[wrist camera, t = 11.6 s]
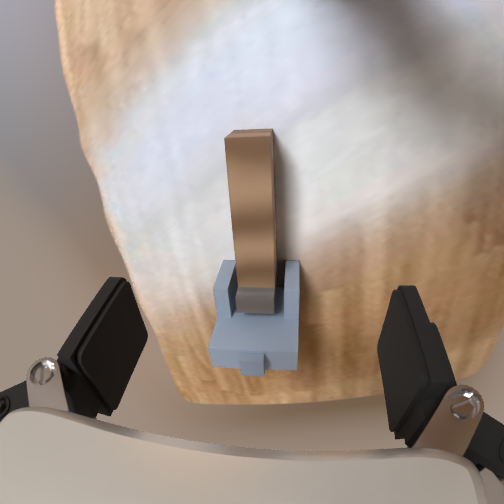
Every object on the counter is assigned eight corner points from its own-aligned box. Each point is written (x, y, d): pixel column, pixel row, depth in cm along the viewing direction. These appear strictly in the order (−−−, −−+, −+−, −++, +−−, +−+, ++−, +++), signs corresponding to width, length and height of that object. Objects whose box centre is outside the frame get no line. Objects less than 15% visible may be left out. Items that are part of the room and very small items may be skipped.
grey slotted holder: (223, 260, 40) (199, 327, 29) (299, 260, 39) (299, 331, 28) (229, 304, 43) (210, 374, 33) (298, 306, 42) (296, 379, 32)
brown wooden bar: (233, 130, 32) (219, 142, 26) (272, 128, 32) (267, 140, 25) (245, 276, 41) (236, 312, 35) (277, 277, 40) (274, 313, 34)
